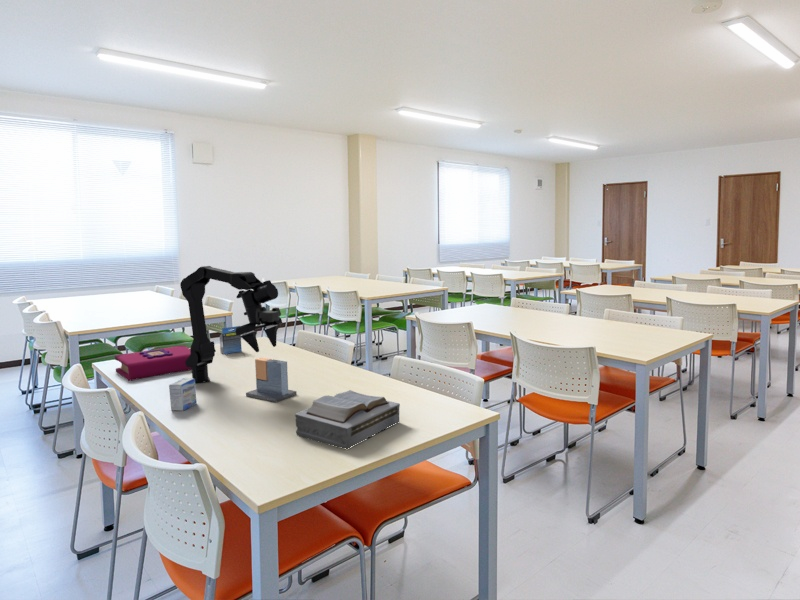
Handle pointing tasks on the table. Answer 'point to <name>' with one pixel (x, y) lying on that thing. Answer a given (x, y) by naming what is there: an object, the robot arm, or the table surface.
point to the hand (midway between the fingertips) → (266, 349)
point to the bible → (346, 418)
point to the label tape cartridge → (230, 341)
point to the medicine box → (182, 394)
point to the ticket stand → (273, 383)
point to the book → (153, 362)
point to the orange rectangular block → (261, 368)
